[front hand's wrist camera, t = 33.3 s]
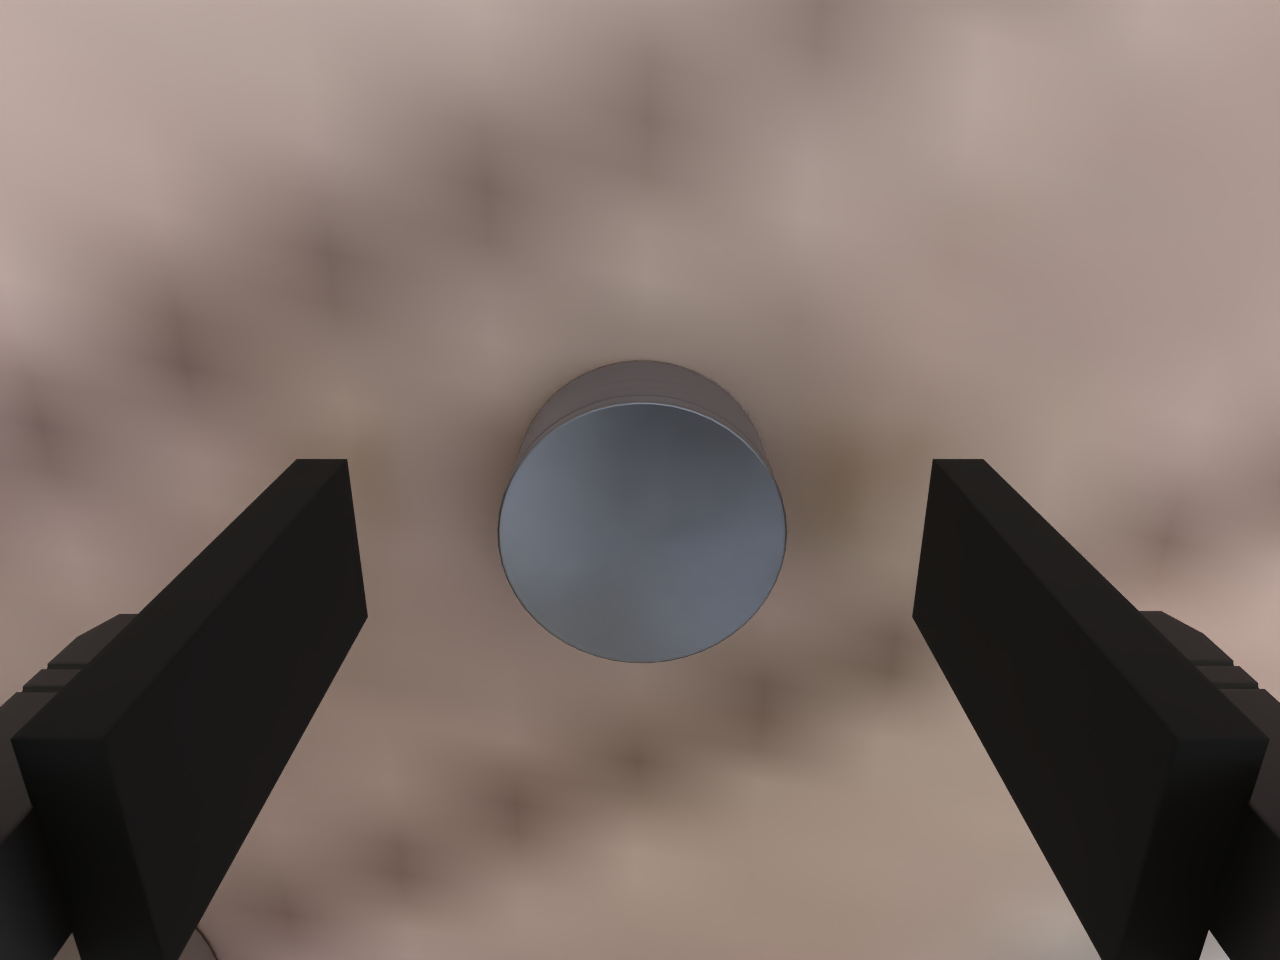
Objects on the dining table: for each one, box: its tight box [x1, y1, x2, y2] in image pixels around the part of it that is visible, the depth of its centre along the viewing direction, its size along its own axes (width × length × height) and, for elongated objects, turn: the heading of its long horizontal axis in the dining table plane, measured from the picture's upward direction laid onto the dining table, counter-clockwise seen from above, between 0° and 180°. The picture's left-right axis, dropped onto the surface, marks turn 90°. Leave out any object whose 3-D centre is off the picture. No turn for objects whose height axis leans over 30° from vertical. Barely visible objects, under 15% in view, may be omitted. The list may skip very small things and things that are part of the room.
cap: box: [498, 361, 787, 663], centre depth 15 cm, size 4×4×2 cm
